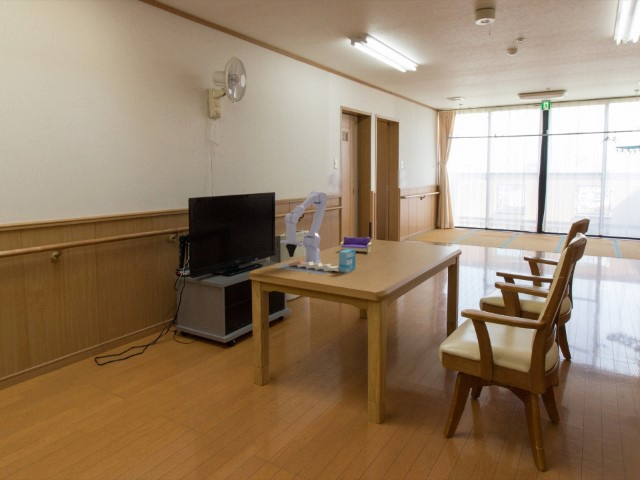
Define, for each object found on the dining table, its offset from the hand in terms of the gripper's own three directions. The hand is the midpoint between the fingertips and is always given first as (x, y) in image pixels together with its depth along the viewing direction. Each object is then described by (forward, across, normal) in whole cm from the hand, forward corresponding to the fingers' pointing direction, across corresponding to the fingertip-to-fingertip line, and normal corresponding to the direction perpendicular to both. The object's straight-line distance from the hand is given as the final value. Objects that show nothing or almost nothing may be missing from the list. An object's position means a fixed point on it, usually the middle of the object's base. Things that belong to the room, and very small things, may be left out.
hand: (291, 256), depth 271 cm
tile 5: (+5, +24, 0) cm, 24 cm away
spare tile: (+5, 0, 0) cm, 5 cm away
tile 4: (+5, +18, 0) cm, 18 cm away
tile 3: (+5, +12, 0) cm, 13 cm away
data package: (+6, +34, +6) cm, 35 cm away
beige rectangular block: (+5, +6, 0) cm, 7 cm away
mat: (+6, +11, -2) cm, 12 cm away
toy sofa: (+6, +10, +64) cm, 65 cm away
